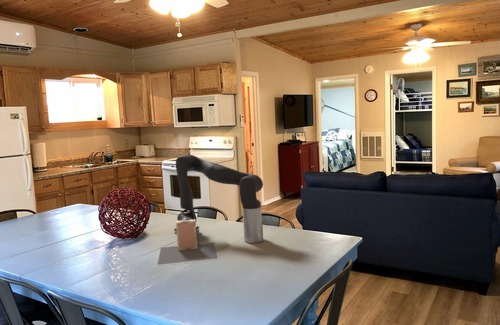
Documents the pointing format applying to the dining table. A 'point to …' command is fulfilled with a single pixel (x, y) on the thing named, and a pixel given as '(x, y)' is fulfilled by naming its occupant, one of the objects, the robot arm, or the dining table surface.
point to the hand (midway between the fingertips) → (186, 234)
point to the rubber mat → (187, 254)
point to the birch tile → (186, 234)
